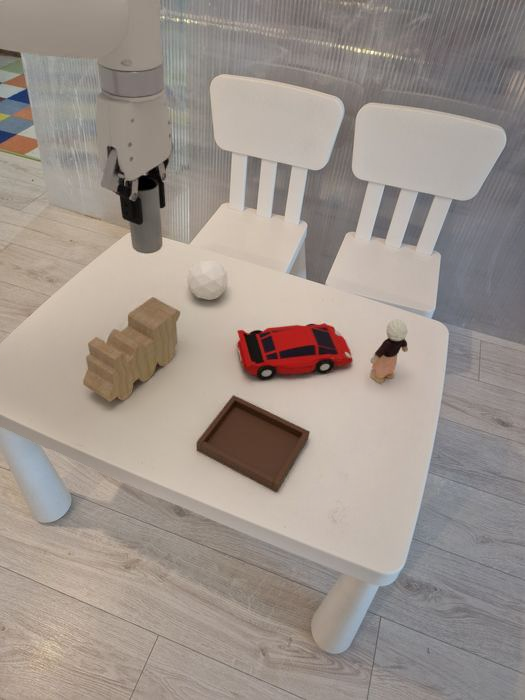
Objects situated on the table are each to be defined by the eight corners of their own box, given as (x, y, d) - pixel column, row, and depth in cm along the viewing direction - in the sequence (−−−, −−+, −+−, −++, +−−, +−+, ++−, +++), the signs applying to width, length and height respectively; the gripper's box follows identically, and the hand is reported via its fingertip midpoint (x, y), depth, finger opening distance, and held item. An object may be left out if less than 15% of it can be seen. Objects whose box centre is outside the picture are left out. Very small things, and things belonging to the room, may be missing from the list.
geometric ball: (197, 302, 106) (180, 266, 104) (233, 286, 106) (217, 250, 103) (197, 310, 99) (178, 271, 96) (236, 293, 99) (218, 254, 96)
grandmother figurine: (385, 359, 95) (403, 306, 86) (402, 372, 93) (423, 319, 84) (357, 379, 91) (373, 326, 82) (374, 393, 89) (393, 340, 80)
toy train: (86, 395, 84) (74, 352, 77) (158, 337, 95) (154, 294, 87) (111, 412, 82) (101, 369, 75) (182, 351, 93) (179, 308, 85)
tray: (196, 450, 79) (196, 442, 77) (232, 402, 85) (233, 394, 84) (276, 492, 75) (277, 485, 73) (308, 439, 81) (309, 431, 80)
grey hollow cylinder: (160, 255, 78) (155, 191, 71) (129, 253, 78) (121, 189, 71) (164, 237, 81) (160, 175, 74) (135, 236, 81) (128, 173, 74)
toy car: (356, 369, 93) (362, 349, 89) (246, 388, 88) (248, 368, 84) (334, 328, 99) (339, 309, 96) (231, 344, 95) (232, 324, 91)
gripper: (148, 53, 69) (157, 182, 82) (56, 90, 58) (83, 231, 71) (196, 66, 67) (198, 196, 80) (110, 107, 56) (128, 249, 69)
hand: (144, 211), depth 76 cm, fingers closed on grey hollow cylinder, 4 cm apart
